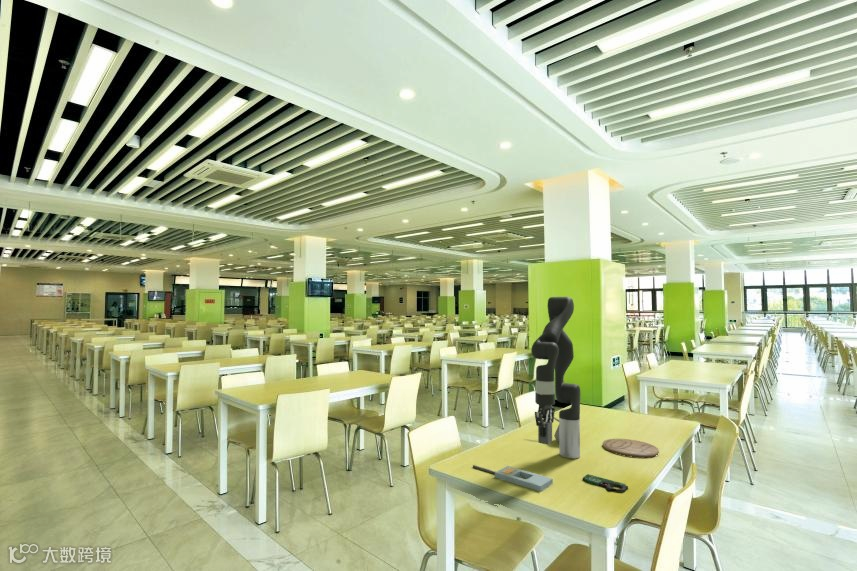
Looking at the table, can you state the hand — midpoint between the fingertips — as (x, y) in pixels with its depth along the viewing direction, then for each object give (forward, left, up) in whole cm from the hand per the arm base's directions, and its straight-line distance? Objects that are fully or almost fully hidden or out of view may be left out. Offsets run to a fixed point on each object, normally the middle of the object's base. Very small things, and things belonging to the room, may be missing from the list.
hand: (545, 435), depth 169 cm
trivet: (-66, +12, -18) cm, 70 cm away
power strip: (+6, -13, -18) cm, 23 cm away
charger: (0, 0, -3) cm, 3 cm away
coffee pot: (-55, -21, -18) cm, 62 cm away
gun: (-12, +18, -18) cm, 29 cm away
